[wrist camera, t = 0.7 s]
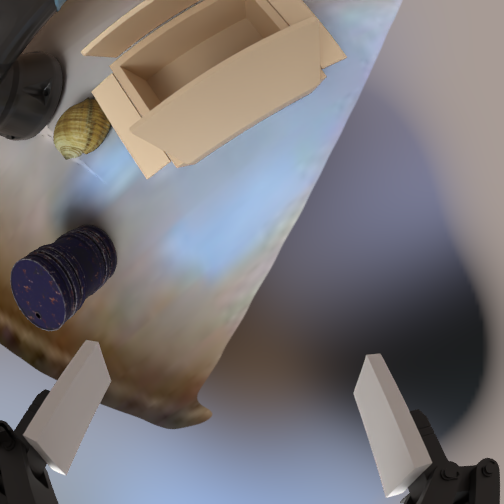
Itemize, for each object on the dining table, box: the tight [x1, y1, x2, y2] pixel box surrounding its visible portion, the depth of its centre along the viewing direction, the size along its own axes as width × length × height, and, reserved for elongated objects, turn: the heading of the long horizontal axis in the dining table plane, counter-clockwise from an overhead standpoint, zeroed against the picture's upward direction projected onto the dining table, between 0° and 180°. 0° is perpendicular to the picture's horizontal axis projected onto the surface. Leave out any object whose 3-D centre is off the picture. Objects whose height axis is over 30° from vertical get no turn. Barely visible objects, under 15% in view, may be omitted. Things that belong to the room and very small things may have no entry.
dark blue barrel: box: [11, 225, 117, 331], centre depth 34 cm, size 10×10×15 cm
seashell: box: [53, 97, 111, 160], centre depth 33 cm, size 10×7×8 cm
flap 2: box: [129, 16, 320, 164], centre depth 21 cm, size 10×15×1 cm
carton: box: [92, 0, 347, 179], centre depth 29 cm, size 15×25×9 cm, turn 123°
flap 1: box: [81, 0, 200, 58], centre depth 18 cm, size 10×15×1 cm
